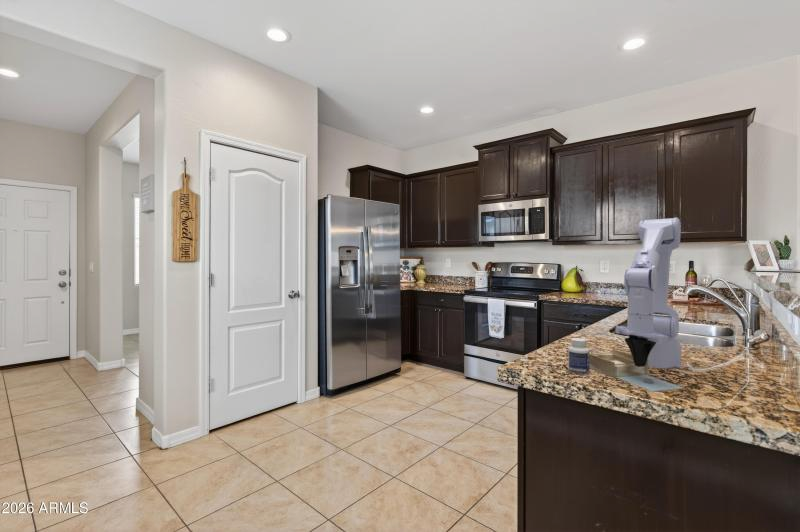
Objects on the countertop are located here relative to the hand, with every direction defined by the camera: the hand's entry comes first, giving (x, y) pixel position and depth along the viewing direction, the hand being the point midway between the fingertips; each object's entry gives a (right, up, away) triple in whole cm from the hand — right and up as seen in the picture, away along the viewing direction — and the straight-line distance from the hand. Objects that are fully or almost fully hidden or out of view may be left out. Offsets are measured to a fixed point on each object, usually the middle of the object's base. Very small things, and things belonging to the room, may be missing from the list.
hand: (640, 365), depth 100 cm
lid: (0, -5, -3) cm, 6 cm away
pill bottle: (-12, -5, +8) cm, 15 cm away
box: (-2, -4, +9) cm, 10 cm away
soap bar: (-2, -3, +9) cm, 10 cm away
